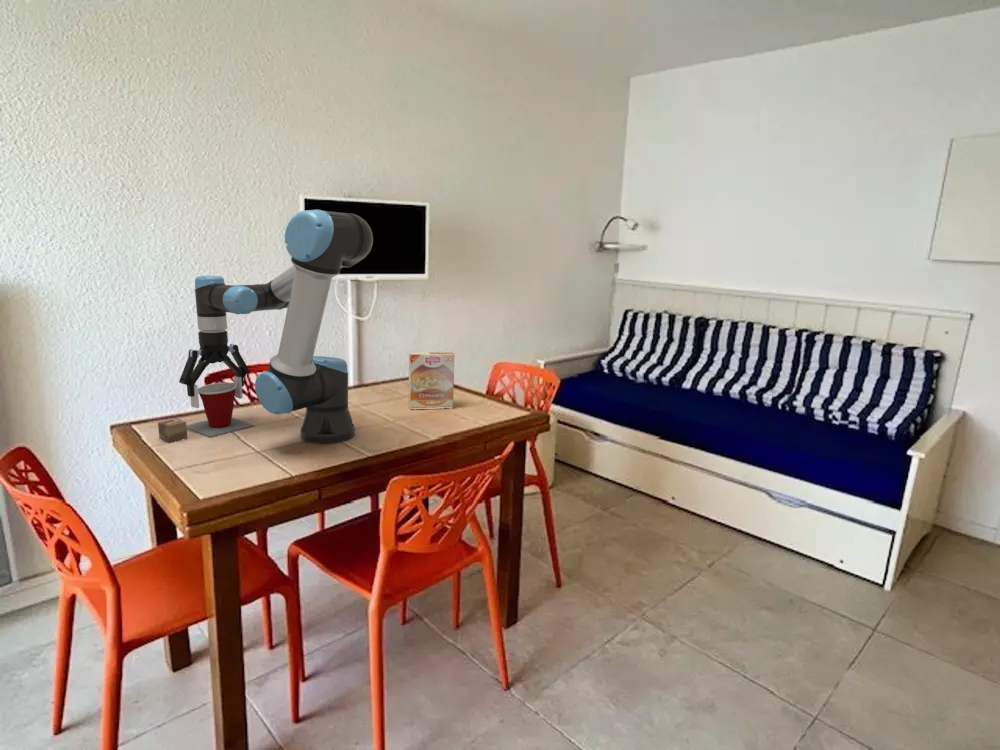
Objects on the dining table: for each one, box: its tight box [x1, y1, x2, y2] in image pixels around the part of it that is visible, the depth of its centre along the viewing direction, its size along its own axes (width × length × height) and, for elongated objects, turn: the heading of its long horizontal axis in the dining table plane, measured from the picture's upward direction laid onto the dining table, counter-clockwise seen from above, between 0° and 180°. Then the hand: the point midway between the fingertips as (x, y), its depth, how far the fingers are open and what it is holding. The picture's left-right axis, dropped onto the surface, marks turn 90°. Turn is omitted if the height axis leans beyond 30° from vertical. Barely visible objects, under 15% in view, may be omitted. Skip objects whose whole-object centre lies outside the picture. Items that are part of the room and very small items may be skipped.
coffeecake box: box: [408, 350, 455, 410], centre depth 203 cm, size 15×7×20 cm, turn 104°
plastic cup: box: [198, 381, 237, 428], centre depth 173 cm, size 11×11×12 cm
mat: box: [186, 417, 255, 438], centre depth 174 cm, size 14×14×1 cm
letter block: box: [157, 417, 188, 444], centre depth 162 cm, size 5×5×5 cm
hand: (217, 402), depth 173 cm, fingers open, 13 cm apart
